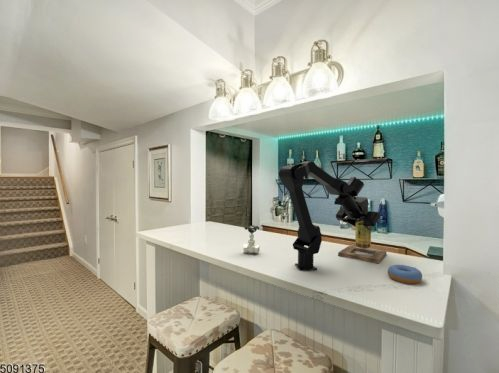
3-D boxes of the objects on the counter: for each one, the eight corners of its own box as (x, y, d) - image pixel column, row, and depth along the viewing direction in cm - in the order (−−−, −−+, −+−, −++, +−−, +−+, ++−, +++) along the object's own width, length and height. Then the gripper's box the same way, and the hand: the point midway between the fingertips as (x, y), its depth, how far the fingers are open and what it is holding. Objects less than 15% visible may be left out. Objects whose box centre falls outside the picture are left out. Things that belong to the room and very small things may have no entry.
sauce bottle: (357, 248, 110) (356, 203, 109) (354, 244, 116) (352, 201, 115) (373, 248, 109) (372, 202, 108) (369, 244, 115) (367, 200, 114)
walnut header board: (386, 254, 114) (386, 251, 114) (378, 263, 101) (378, 259, 101) (349, 248, 124) (349, 245, 124) (338, 255, 111) (338, 252, 111)
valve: (257, 256, 110) (257, 228, 109) (242, 255, 111) (242, 227, 111) (260, 252, 116) (260, 225, 116) (245, 251, 117) (246, 225, 117)
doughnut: (427, 286, 80) (426, 271, 80) (392, 284, 82) (391, 269, 83) (416, 277, 89) (416, 264, 89) (385, 276, 92) (384, 263, 92)
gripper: (378, 191, 102) (393, 218, 108) (340, 190, 118) (355, 212, 124) (365, 212, 98) (381, 238, 104) (328, 207, 114) (344, 230, 120)
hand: (365, 228), depth 113 cm, fingers closed on sauce bottle, 6 cm apart
